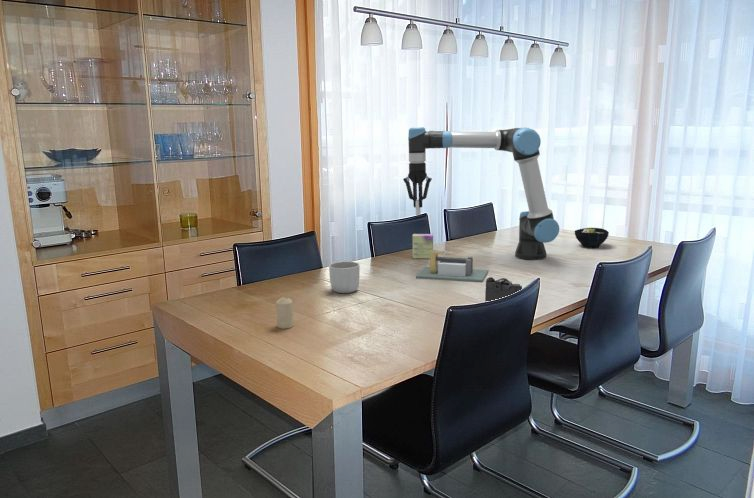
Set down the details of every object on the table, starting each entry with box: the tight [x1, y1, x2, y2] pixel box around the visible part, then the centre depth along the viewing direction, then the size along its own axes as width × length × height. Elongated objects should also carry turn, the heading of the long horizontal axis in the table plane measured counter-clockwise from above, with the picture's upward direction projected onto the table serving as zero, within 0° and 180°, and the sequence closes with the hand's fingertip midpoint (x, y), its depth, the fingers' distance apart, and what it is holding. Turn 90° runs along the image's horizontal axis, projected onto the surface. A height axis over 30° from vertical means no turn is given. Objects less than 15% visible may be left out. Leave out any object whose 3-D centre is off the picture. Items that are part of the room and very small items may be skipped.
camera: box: [484, 276, 523, 302], centre depth 216 cm, size 14×11×10 cm
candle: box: [275, 296, 295, 329], centre depth 197 cm, size 6×6×10 cm
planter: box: [328, 261, 360, 294], centre depth 239 cm, size 12×12×11 cm
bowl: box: [574, 227, 610, 249], centre depth 312 cm, size 17×17×10 cm
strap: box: [436, 256, 472, 263], centre depth 259 cm, size 15×3×1 cm, turn 72°
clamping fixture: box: [415, 256, 489, 283], centre depth 260 cm, size 29×18×8 cm, turn 72°
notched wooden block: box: [429, 249, 445, 273], centre depth 261 cm, size 5×5×9 cm
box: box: [412, 233, 434, 260], centre depth 296 cm, size 10×6×12 cm, turn 84°
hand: (418, 214), depth 267 cm, fingers closed
